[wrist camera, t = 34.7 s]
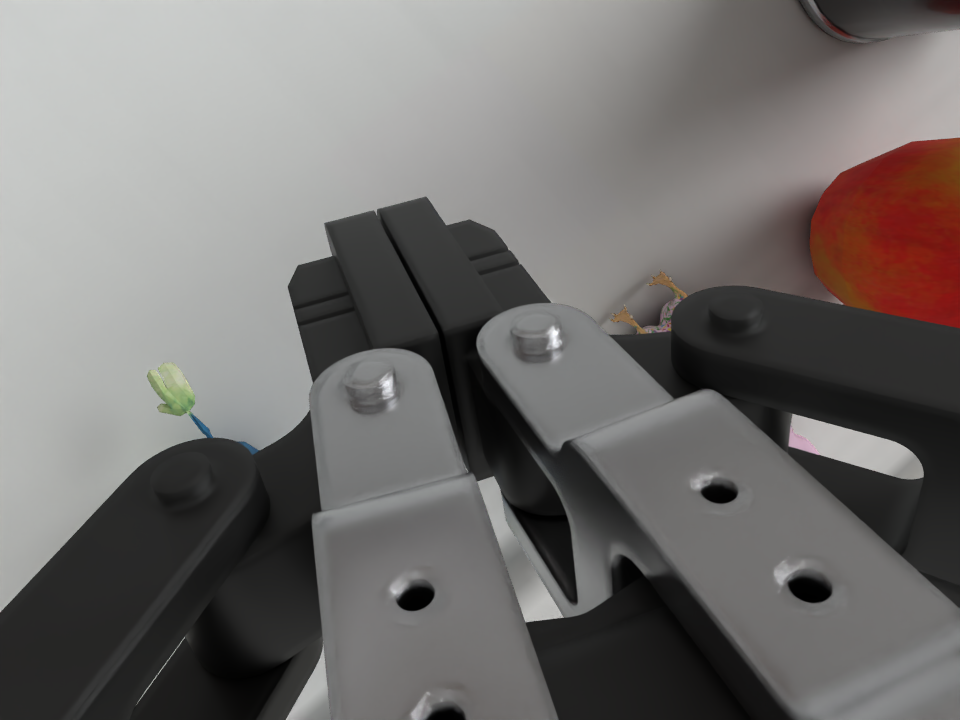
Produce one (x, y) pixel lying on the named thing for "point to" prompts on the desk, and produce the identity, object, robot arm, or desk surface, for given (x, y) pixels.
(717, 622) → the robot arm
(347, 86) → the desk surface
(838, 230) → the apple
